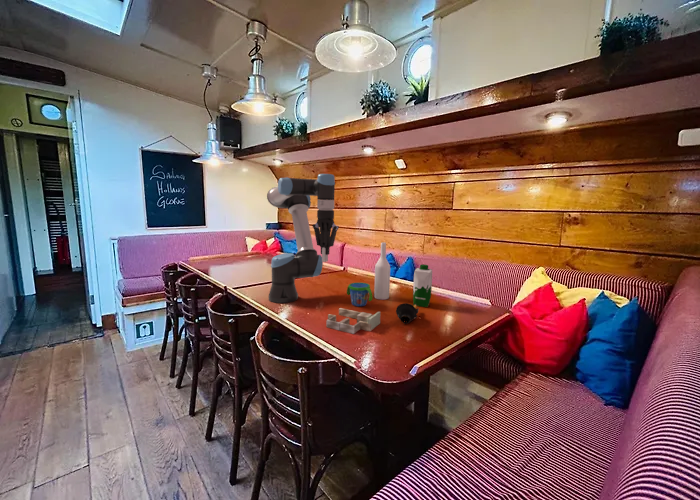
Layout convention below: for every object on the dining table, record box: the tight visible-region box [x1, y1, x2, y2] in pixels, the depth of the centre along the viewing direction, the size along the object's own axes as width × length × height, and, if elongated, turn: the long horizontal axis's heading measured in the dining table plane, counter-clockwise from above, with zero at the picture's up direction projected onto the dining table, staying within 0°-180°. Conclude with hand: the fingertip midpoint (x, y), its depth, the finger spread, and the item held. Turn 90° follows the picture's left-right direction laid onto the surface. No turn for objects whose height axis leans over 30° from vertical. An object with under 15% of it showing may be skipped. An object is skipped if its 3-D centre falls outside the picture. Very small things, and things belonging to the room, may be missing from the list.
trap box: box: [325, 307, 381, 335], centre depth 129 cm, size 20×16×5 cm
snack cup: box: [346, 282, 373, 307], centre depth 154 cm, size 16×10×10 cm
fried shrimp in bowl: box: [395, 303, 420, 325], centre depth 137 cm, size 9×11×18 cm
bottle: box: [373, 241, 391, 301], centre depth 165 cm, size 8×8×30 cm
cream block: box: [356, 311, 373, 324], centre depth 129 cm, size 4×4×4 cm
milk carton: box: [412, 264, 433, 308], centre depth 155 cm, size 9×9×20 cm
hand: (324, 261), depth 141 cm, fingers closed
